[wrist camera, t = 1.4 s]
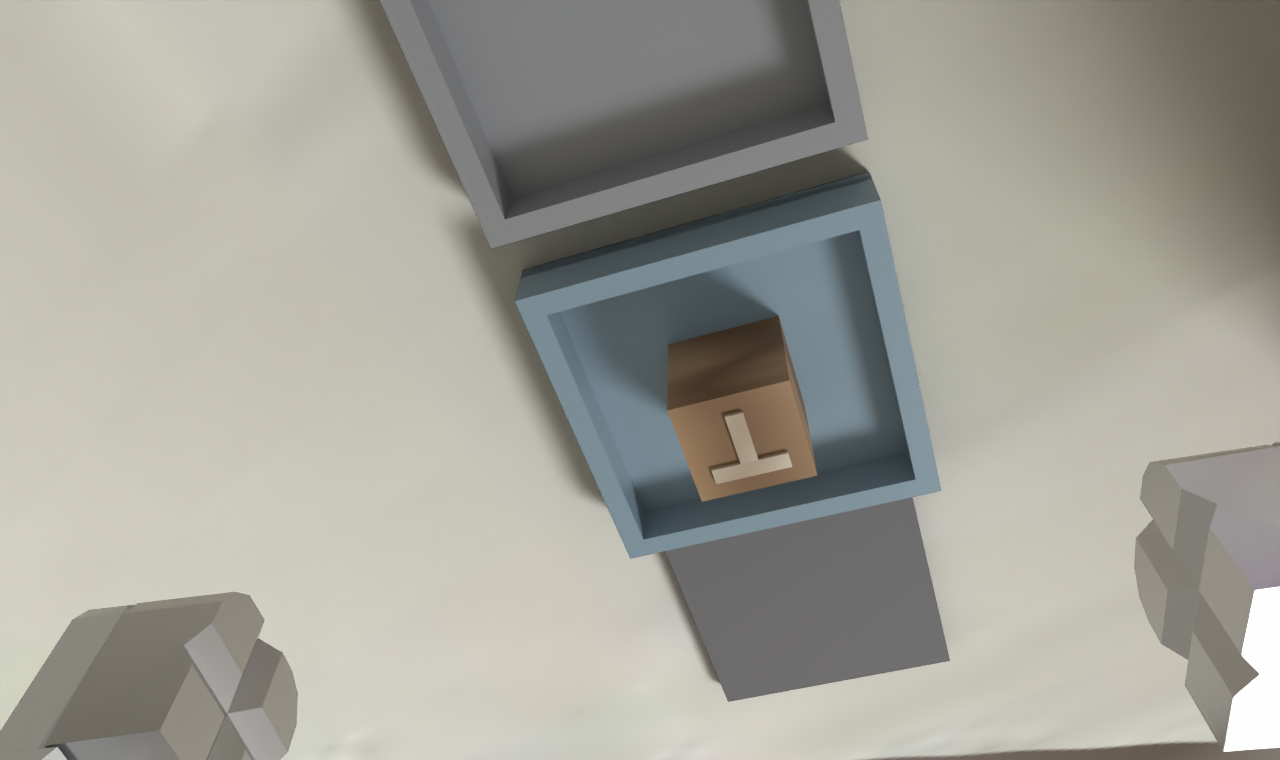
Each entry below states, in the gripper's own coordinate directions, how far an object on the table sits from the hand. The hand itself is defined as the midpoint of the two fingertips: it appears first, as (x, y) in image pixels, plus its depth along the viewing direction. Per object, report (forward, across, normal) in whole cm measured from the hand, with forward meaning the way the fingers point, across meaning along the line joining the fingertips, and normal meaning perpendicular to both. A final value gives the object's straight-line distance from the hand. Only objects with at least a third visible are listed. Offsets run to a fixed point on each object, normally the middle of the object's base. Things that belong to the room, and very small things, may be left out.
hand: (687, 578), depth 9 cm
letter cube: (+24, -1, +13) cm, 27 cm away
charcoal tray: (+24, +1, 0) cm, 24 cm away
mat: (+24, -2, +25) cm, 35 cm away
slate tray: (+24, -1, +13) cm, 28 cm away
